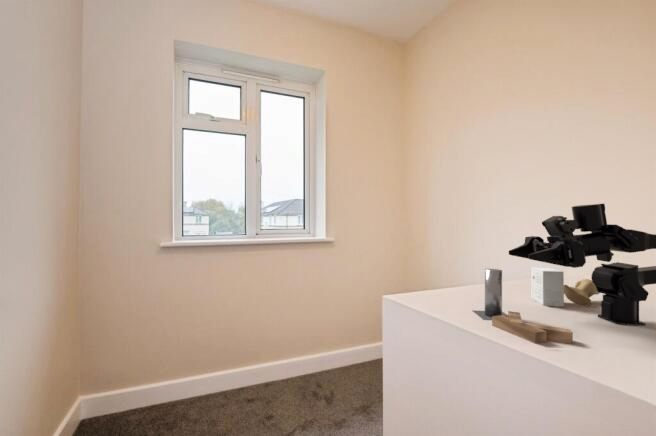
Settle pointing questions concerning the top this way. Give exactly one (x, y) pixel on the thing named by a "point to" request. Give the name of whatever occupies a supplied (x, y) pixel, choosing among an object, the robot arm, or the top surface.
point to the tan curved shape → (581, 292)
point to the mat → (483, 316)
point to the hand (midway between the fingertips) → (518, 254)
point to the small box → (547, 286)
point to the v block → (531, 329)
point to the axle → (493, 292)
